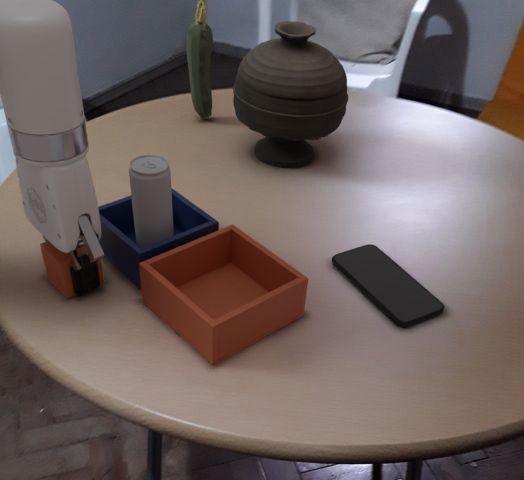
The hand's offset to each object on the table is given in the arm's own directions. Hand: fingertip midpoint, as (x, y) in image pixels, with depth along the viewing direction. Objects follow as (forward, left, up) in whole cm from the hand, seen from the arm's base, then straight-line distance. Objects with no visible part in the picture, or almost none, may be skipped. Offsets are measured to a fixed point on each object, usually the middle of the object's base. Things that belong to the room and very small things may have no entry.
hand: (75, 277), depth 76 cm
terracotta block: (0, 0, 0) cm, 0 cm away
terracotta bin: (+11, -15, 0) cm, 19 cm away
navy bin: (+11, -1, 0) cm, 11 cm away
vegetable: (+40, +28, -1) cm, 49 cm away
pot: (+44, +10, -1) cm, 45 cm away
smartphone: (+30, -24, -1) cm, 38 cm away
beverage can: (+11, -1, 0) cm, 11 cm away
